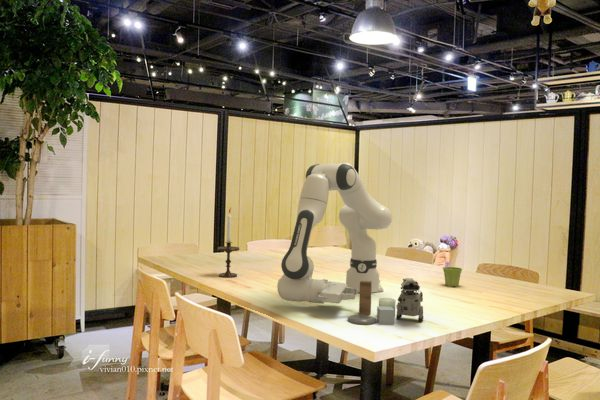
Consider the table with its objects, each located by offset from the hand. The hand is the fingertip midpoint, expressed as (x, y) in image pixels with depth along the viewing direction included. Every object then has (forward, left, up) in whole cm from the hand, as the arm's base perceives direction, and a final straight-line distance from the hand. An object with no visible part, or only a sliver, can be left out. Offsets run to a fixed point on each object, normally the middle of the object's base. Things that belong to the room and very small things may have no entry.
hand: (356, 294), depth 188 cm
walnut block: (0, +3, -7) cm, 8 cm away
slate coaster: (+11, +3, -7) cm, 14 cm away
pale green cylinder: (+1, +11, -7) cm, 13 cm away
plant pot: (-69, +39, -7) cm, 80 cm away
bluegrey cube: (+10, +11, -7) cm, 17 cm away
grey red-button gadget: (+6, +19, -7) cm, 22 cm away
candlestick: (-54, -71, -7) cm, 89 cm away
